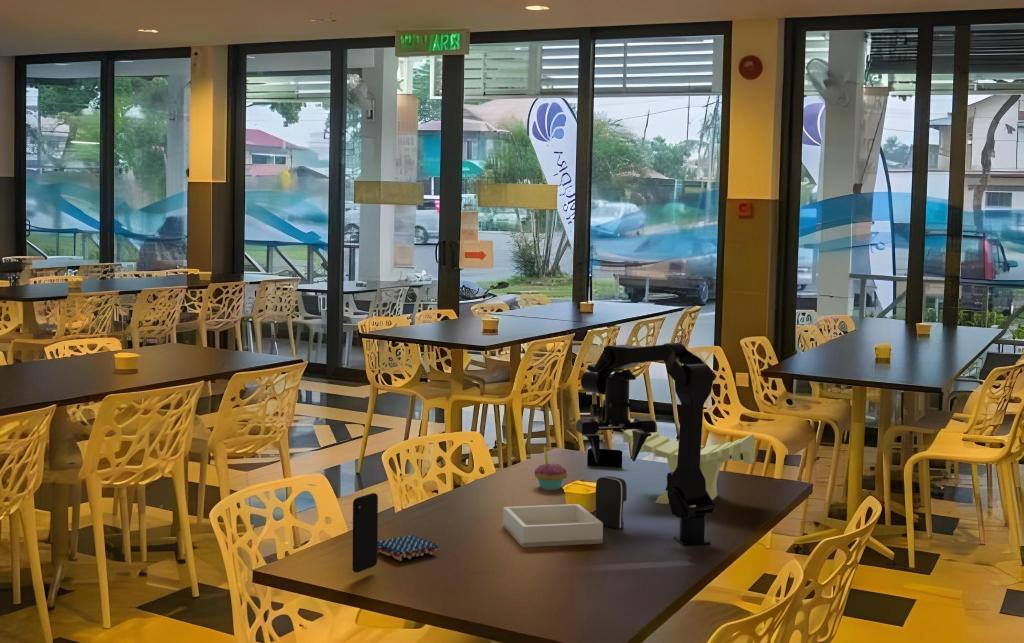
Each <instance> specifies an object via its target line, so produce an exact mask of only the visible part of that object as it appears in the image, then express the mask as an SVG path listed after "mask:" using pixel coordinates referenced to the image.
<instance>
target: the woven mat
mask: <svg viewBox="0 0 1024 643" xmlns="http://www.w3.org/2000/svg"><path fill="white" fill-rule="evenodd" d="M438 548H439V547H438V544H437V543H436V542H432V541H431V540H430V541H429V540H427V539H423V538H422V537H419V536H415V534H411V535H405V536H403V537H402V536H399V537H397V538H396V537H394V538H387V539H383V540H380V541H378V542H377V552H380V553H381V554H383V555H384V556H385V555H386V556H388V557H393V558H394V559H395V560H396V561H397V560H398V561H400V562H401V561H402V560H403V559H405V558H407V559H408V560H411V559H412V557H415V556H416V557H419V556H421V557H423V556H424V554H427V555H433V554H435V553H436V552H437V551H438Z"/></svg>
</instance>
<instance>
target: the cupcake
mask: <svg viewBox="0 0 1024 643" xmlns="http://www.w3.org/2000/svg"><path fill="white" fill-rule="evenodd" d="M543 452H544V454H543V455H544V460H545V464H544V463H543V464H540V465H539V466H537V467H536V468H535V470H534V472H533V473H534V477H535V478H537V481H538V483H539V486H540V489H543V490H546V491H547V490H548V491H553V490H560V488H561V487H562V484H563V482H564V480H566V479H567V476H568V473H567V472H568V471H567V469H566V468H565V467H564V466H562V465H560V464H558V463H557V464H555V463H549V459H548V453H547V452H548V451H547V447H546V446H545V444H543Z"/></svg>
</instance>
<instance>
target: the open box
mask: <svg viewBox="0 0 1024 643" xmlns="http://www.w3.org/2000/svg"><path fill="white" fill-rule="evenodd" d="M502 511H503V512H502V514H503V515H502V516H503V517H502V521H503V522H502V523H503V524H502V527H503V528H504V529H505V530H506V531H507V532H508V533H509V535H511V537H513V539H515V541H516V542H517V543H518V544H519V545H520V546H521V547H522V548H537V547H538V548H539V547H556V546H557V547H559V546H574V545H575V546H577V545H594V544H595V545H596V544H597V545H598V544H603V543H604V542H603V536H604V535H603V534H604V532H603V531H604V526H603V523H602V522H601V521H600V520H598V519H597V518H596V516H595V515H594V514H592V513H591V512H589V511H588V510H587V509H586V508H584V507H583V506H582V505H580V504H579V503H573V504H572V503H571V504H570V503H569V504H545V505H544V504H542V505H521V506H504V507H503V510H502Z"/></svg>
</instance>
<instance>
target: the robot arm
mask: <svg viewBox="0 0 1024 643" xmlns="http://www.w3.org/2000/svg"><path fill="white" fill-rule="evenodd" d="M660 361H661V362H662V361H663V362H664V363H665V367H666V372H667V373H668V375H669V376H670V377H671V379H672V380H673V381H674V392H675V394H676V396H677V397H678V399H679V402H680V417H679V432H678V442H679V447H678V463H677V467H676V469H675V471H674V472H671V471H670V472H667V474H666V487H665V491H667V490H668V492H667V495H668V499H669V503H670V504H669V506H670V511H671V515H673V516H675V517H676V518H679V525H678V526H679V530H678V532H679V533H678V535H673V539H674V540H675V541H677V542H678V543H680V544H681V545H683V546H697V545H700V546H701V545H711V541H710V540H709V539H708V538H706V517H707V516H706V515H712V514H714V512H715V509H716V504H715V503H714V501H713V500H712V499H711V498H710V496H709V494H708V493H707V491H706V482H705V478H704V476H703V474H702V472H701V470H700V453H701V446H702V436H703V419H704V407H705V406H704V405H705V403H706V402H707V400H708V398H709V396H710V395H711V393H712V389H713V385H714V380H715V379H714V375H715V374H714V371H713V370H712V369H711V367H710V366H709V365H708V364H706V363H705V362H704V361H703V359H702V358H700V357H699V356H697V355H696V354H694V353H693V352H691V351H690V350H688V349H687V347H686V346H685V345H683V343H680V342H666V343H663V344H658V345H647V346H636V345H634V344H615V345H613V344H611V345H610V344H609V345H605V346H604V348H603V350H602V352H601V355H600V357H599V358H598V360H597V361H596V364H588V365H587V370H585V371H584V373H583V375H581V378H580V385H581V388H582V389H583V391H585V392H587V393H593V394H598V395H602V396H604V399H603V402H602V406H600V404H599V403H591V405H590V407H589V409H590V411H589V412H590V414H589V415H590V418H587V419H586V418H584V419H583V418H581V419H578V420H577V421H576V423H575V431H576V432H578V433H579V434H581V435H582V436H584V437H586V438H587V440H588V443H589V445H590V446H591V448H592V451H593V454H594V457H595V460H596V462H599V455H600V449H601V448H600V444H601V443H600V442H601V439H600V435H599V434H598V433H599V431H615V430H616V431H618V430H623V431H625V430H627V429H635V430H632V433H633V442H632V449H631V450H632V451H631V460H632V462H635V461H636V460H637V458H638V456H639V454H640V453H639V451H640V449H641V447H642V445H643V444H644V442H645V440H646V439H647V437H648V436H651V433H655V432H657V433H658V430H657V429H658V428H657V422H656V421H655V420H653V419H652V418H649V417H635V418H634V419H633V421H631V420H630V419H629V414H630V413H629V410H630V409H629V408H630V407H631V402H630V381H636V378H637V377H636V375H635V374H633V372H632V371H631V369H630V368H633V367H636V366H638V365H639V364H642V363H651V362H660ZM595 419H597V420H595ZM693 505H696V507H690V506H693Z"/></svg>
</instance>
